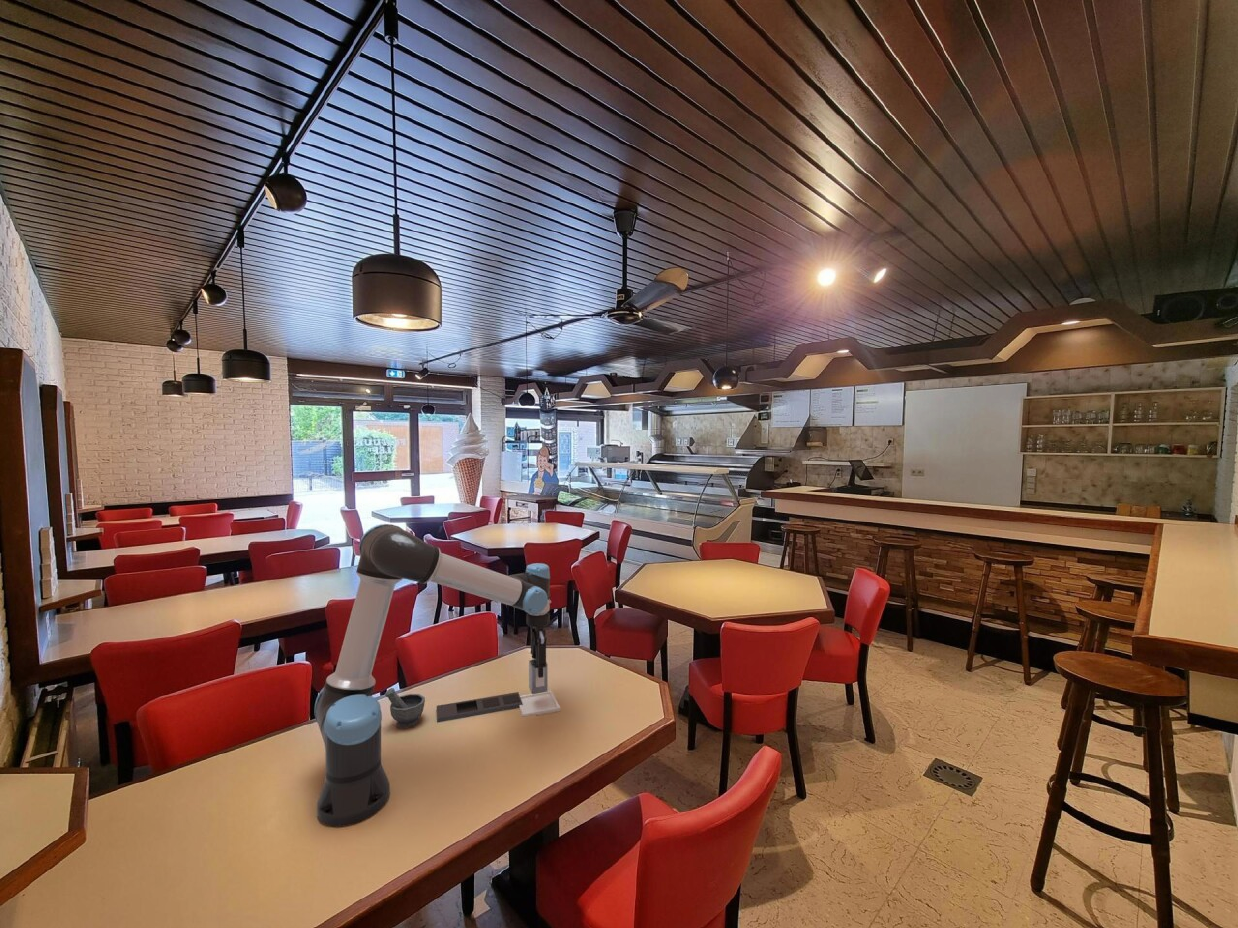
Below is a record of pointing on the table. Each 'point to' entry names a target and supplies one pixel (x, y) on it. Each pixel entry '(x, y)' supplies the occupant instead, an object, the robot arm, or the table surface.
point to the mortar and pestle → (405, 708)
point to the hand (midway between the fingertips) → (538, 681)
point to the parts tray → (539, 704)
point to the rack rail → (478, 706)
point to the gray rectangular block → (533, 678)
